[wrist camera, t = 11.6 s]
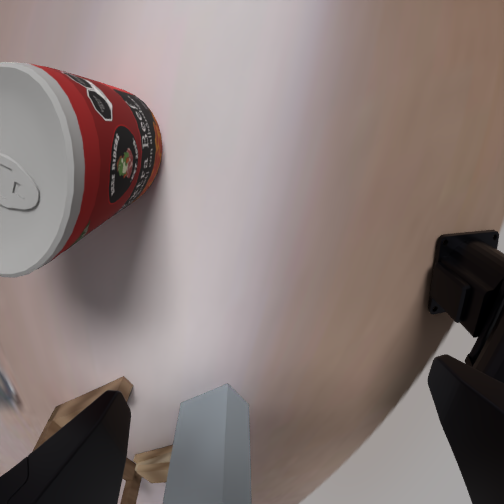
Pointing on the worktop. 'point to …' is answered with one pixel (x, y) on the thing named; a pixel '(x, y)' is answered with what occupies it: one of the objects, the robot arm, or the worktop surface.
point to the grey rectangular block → (211, 451)
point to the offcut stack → (154, 464)
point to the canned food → (66, 160)
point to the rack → (73, 408)
